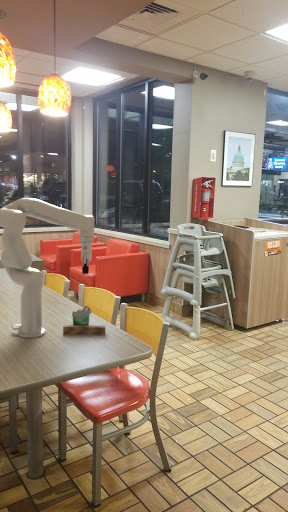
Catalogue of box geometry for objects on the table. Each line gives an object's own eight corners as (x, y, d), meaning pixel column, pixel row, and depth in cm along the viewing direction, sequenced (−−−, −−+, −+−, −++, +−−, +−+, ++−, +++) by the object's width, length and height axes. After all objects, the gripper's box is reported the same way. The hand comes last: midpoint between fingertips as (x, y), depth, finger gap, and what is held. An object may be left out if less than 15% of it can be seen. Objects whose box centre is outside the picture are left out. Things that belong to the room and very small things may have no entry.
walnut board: (63, 334, 187) (63, 326, 186) (63, 332, 189) (63, 325, 188) (105, 335, 188) (105, 327, 188) (105, 333, 191) (105, 325, 190)
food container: (82, 333, 189) (82, 313, 188) (71, 331, 192) (71, 311, 190) (95, 326, 200) (95, 307, 199) (85, 324, 203) (85, 305, 201)
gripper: (92, 241, 198) (91, 276, 201) (94, 238, 213) (93, 271, 216) (77, 240, 198) (76, 276, 200) (80, 237, 213) (79, 270, 215)
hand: (85, 273), depth 208 cm, fingers closed
